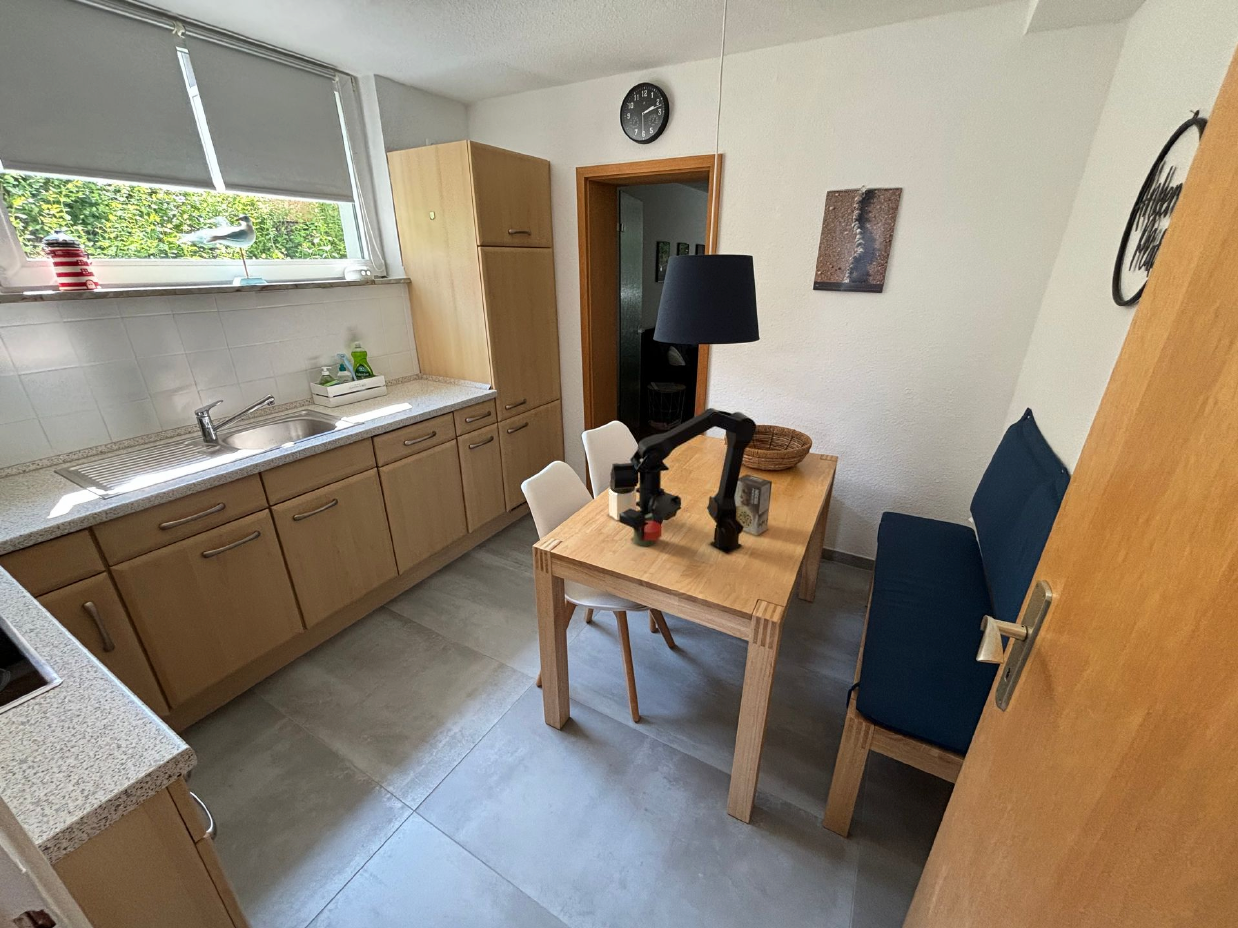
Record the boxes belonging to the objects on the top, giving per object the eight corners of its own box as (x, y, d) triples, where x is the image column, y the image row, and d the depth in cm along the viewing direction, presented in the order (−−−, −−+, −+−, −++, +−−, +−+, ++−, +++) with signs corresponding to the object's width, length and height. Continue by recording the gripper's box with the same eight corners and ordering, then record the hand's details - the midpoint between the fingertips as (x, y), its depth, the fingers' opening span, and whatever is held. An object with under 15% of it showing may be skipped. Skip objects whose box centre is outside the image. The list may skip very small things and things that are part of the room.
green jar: (658, 541, 148) (659, 514, 144) (642, 548, 144) (642, 520, 141) (645, 533, 152) (645, 506, 149) (629, 539, 149) (629, 512, 146)
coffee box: (767, 528, 154) (773, 481, 148) (756, 536, 150) (761, 487, 144) (742, 519, 160) (746, 473, 154) (731, 526, 156) (735, 478, 150)
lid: (632, 535, 138) (632, 528, 137) (644, 525, 143) (644, 518, 142) (653, 542, 134) (654, 534, 133) (665, 532, 139) (665, 524, 138)
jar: (634, 508, 168) (634, 475, 163) (637, 519, 160) (638, 485, 156) (608, 509, 167) (607, 476, 163) (610, 521, 160) (609, 487, 155)
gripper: (650, 506, 121) (650, 560, 127) (695, 482, 134) (692, 533, 140) (617, 493, 128) (618, 545, 134) (662, 472, 141) (661, 520, 147)
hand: (649, 536), depth 139 cm, fingers closed on lid, 6 cm apart
